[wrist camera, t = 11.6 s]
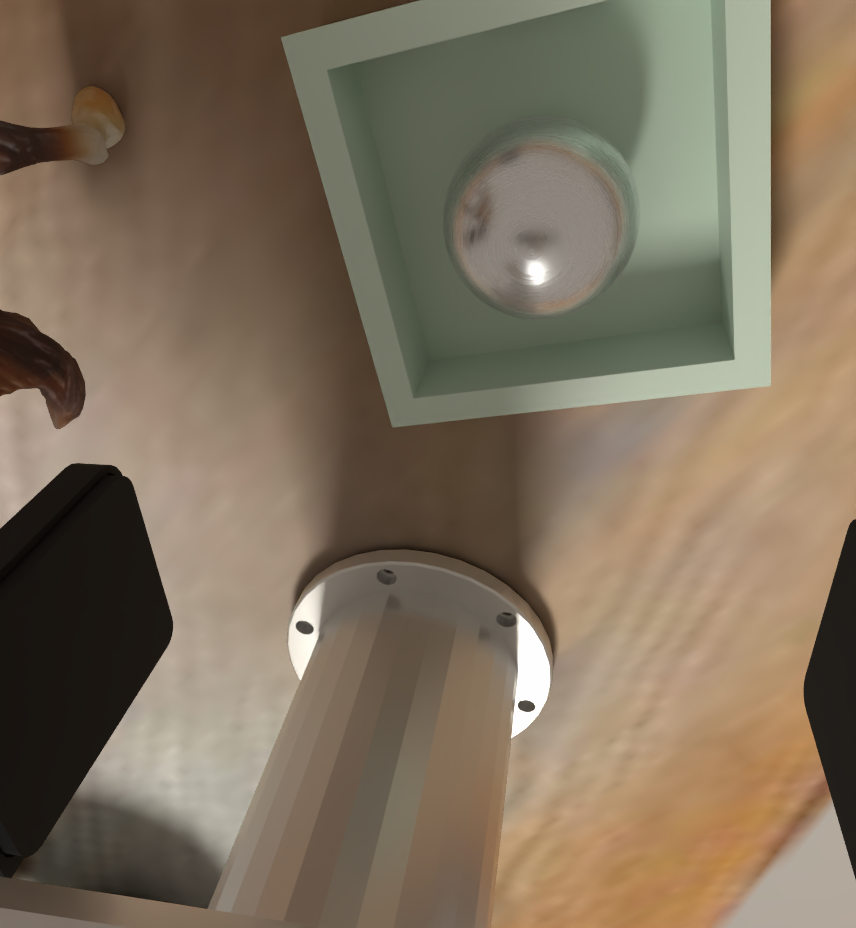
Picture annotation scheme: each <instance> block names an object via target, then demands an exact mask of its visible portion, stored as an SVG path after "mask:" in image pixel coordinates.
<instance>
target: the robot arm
mask: <svg viewBox="0 0 856 928" xmlns="http://www.w3.org/2000/svg"><path fill="white" fill-rule="evenodd" d="M172 632H173V620H172V616H171V612H170V609H169V606H168V602H167V599H166V595H165V592H164V589H163V585H162V582H161V578H160V575H159V572H158V568H157V565H156V561H155V558H154V555H153V551H152V548H151V544H150V541H149V538H148V534H147V531H146V527H145V524H144V521H143V517H142V514H141V510H140V507H139V504H138V500H137V497H136V493H135V490H134V487H133V484H132V482H131V481H130V479H129V478H127V477H125V476H122V473H121V472H120V471H119V469H118V468H117V467H115V466H112V465H98V464H80V463H76V464H71V465H69V466H68V467H66V468H65V469H64V470H63V471H62V472H61V473H59V474H58V475H57V476H56V477H55V478H54V479H53V480H52V481H51V482H50V483H49V484H48V485H47V486H46V487H44V488H43V489H42V490H41V491H40V492H39V493H38V494H37V495H36V496H35V497H34V498H33V499H32V500H31V501H29V502H28V503H27V504H26V505H25V506H24V507H23V508H22V509H21V510H20V511H19V512H18V513H17V514H16V515H15V516H13V517H12V518H11V519H10V520H9V521H8V522H7V523H6V524H5V525H4V526H3V527H2V528H1V529H0V928H491V920H492V911H493V902H494V893H495V883H496V874H497V865H498V856H499V847H500V838H501V829H502V820H503V811H504V802H505V793H506V784H507V774H508V765H509V756H510V747H511V738H512V737H514V736H515V735H517V734H518V733H520V732H521V731H523V730H524V729H526V728H527V727H528V726H529V725H530V724H531V723H532V722H533V721H534V720H535V719H536V718H537V717H538V716H539V715H540V713H541V711H542V710H543V708H544V706H545V704H546V702H547V700H548V698H549V694H550V689H551V685H552V677H553V655H552V650H551V645H550V640H549V637H548V635H547V633H546V631H545V629H544V627H543V625H542V623H541V621H540V619H539V618H538V617H537V615H536V614H535V613H534V611H533V610H532V609H531V607H530V606H529V605H528V604H527V602H526V601H525V600H523V599H522V598H521V597H520V596H519V595H518V594H517V593H516V592H515V591H513V590H512V589H511V588H510V587H509V586H508V585H506V584H505V583H503V582H502V581H500V580H498V579H497V578H495V577H494V576H492V575H491V574H489V573H487V572H486V571H484V570H481V569H479V568H477V567H475V566H472V565H470V564H468V563H466V562H463V561H461V560H458V559H454V558H450V557H447V556H443V555H440V554H436V553H431V552H423V551H415V550H407V549H405V550H378V551H373V552H368V553H363V554H357V555H354V556H352V557H349V558H346V559H344V560H341V561H339V562H336V563H334V564H333V565H331V566H329V567H328V568H326V569H325V570H323V571H322V572H320V573H319V574H317V575H316V576H315V578H314V579H313V580H312V581H311V582H310V583H309V584H308V585H307V586H306V587H305V588H304V590H303V592H302V594H301V596H300V598H299V599H298V601H297V603H296V605H295V607H294V609H293V612H292V614H291V617H290V619H289V623H288V633H287V645H288V650H289V656H290V660H291V662H292V665H293V667H294V669H295V672H296V674H297V676H298V678H299V679H300V684H299V686H298V689H297V691H296V693H295V696H294V698H293V701H292V703H291V706H290V708H289V711H288V713H287V715H286V718H285V720H284V723H283V725H282V728H281V730H280V733H279V735H278V737H277V740H276V742H275V745H274V747H273V750H272V752H271V754H270V757H269V759H268V762H267V764H266V767H265V769H264V772H263V774H262V776H261V779H260V781H259V784H258V786H257V789H256V791H255V794H254V796H253V798H252V801H251V803H250V806H249V808H248V811H247V813H246V816H245V818H244V820H243V823H242V825H241V828H240V830H239V833H238V835H237V838H236V840H235V842H234V845H233V847H232V850H231V852H230V855H229V857H228V860H227V862H226V864H225V867H224V869H223V872H222V874H221V877H220V879H219V882H218V884H217V886H216V889H215V891H214V894H213V896H212V899H211V901H210V904H209V906H208V908H207V909H204V908H198V907H192V906H185V905H179V904H173V903H166V902H160V901H154V900H147V899H141V898H134V897H128V896H121V895H115V894H108V893H102V892H96V891H89V890H83V889H76V888H70V887H63V886H57V885H50V884H44V883H37V882H31V881H25V880H18V879H12V876H13V874H14V873H15V871H16V870H17V868H18V867H19V865H20V864H21V862H22V860H23V859H24V857H28V856H31V855H33V854H34V853H35V852H36V851H37V850H38V849H39V848H40V847H41V845H42V844H43V843H44V841H45V839H46V838H47V836H48V835H49V833H50V832H51V830H52V828H53V827H54V825H55V824H56V822H57V820H58V819H59V817H60V816H61V814H62V813H63V811H64V809H65V808H66V806H67V805H68V803H69V801H70V800H71V798H72V797H73V795H74V794H75V792H76V790H77V789H78V787H79V786H80V784H81V782H82V781H83V779H84V778H85V776H86V775H87V773H88V771H89V770H90V768H91V767H92V765H93V764H94V762H95V760H96V759H97V757H98V756H99V754H100V752H101V751H102V749H103V748H104V746H105V745H106V743H107V741H108V740H109V738H110V737H111V735H112V733H113V732H114V730H115V729H116V727H117V726H118V724H119V722H120V721H121V719H122V718H123V716H124V714H125V713H126V711H127V710H128V708H129V707H130V705H131V703H132V702H133V700H134V699H135V697H136V696H137V694H138V692H139V691H140V689H141V688H142V686H143V684H144V683H145V681H146V680H147V678H148V677H149V675H150V673H151V672H152V670H153V669H154V667H155V665H156V664H157V662H158V661H159V659H160V658H161V656H162V654H163V653H164V651H165V650H166V648H167V646H168V644H169V642H170V640H171V637H172ZM804 702H805V707H806V711H807V715H808V718H809V722H810V725H811V729H812V732H813V735H814V739H815V742H816V746H817V749H818V752H819V756H820V759H821V763H822V766H823V769H824V773H825V776H826V780H827V783H828V786H829V790H830V793H831V797H832V800H833V804H834V807H835V810H836V814H837V817H838V820H839V824H840V827H841V831H842V834H843V838H844V841H845V844H846V848H847V851H848V854H849V858H850V861H851V865H852V868H853V872H854V875H855V878H856V519H855V520H853V521H852V522H851V523H850V525H849V528H848V531H847V534H846V537H845V541H844V544H843V548H842V551H841V555H840V558H839V562H838V565H837V569H836V572H835V576H834V579H833V582H832V586H831V589H830V593H829V596H828V600H827V603H826V607H825V610H824V614H823V617H822V620H821V624H820V627H819V631H818V634H817V638H816V641H815V645H814V648H813V652H812V655H811V659H810V662H809V665H808V669H807V672H806V676H805V681H804Z"/></svg>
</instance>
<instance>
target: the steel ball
mask: <svg viewBox="0 0 856 928" xmlns="http://www.w3.org/2000/svg"><path fill="white" fill-rule="evenodd" d="M639 222H640V202H639V195H638V190H637V186H636V183H635V180H634V177H633V175H632V172H631V170H630V168H629V166H628V164H627V162H626V161H625V159H624V157H623V156H622V154H621V153H620V151H619V150H618V149H617V148H616V147H615V146H614V145H613V143H612V142H611V141H609V140H608V139H607V138H606V137H605V136H604V135H603V134H601V133H600V132H598V131H597V130H595V129H594V128H592V127H590V126H588V125H586V124H584V123H582V122H580V121H577V120H573V119H570V118H566V117H560V116H553V115H538V116H531V117H525V118H521V119H518V120H514V121H512V122H509V123H507V124H505V125H502V126H500V127H499V128H497V129H495V130H494V131H492V132H491V133H489V134H488V135H486V136H485V137H484V138H483V139H481V140H480V141H479V142H478V143H477V144H476V145H475V146H474V147H473V148H472V149H471V150H470V151H469V152H468V153H467V155H466V156H465V157H464V159H463V160H462V161H461V163H460V164H459V166H458V168H457V170H456V172H455V174H454V175H453V178H452V180H451V183H450V186H449V188H448V191H447V195H446V199H445V203H444V212H443V232H444V239H445V245H446V249H447V252H448V256H449V258H450V261H451V263H452V265H453V268H454V269H455V271H456V273H457V274H458V276H459V278H460V279H461V280H462V282H463V283H464V284H465V286H466V287H467V288H468V289H469V290H470V291H471V292H472V293H473V294H474V295H475V296H476V297H477V298H478V299H479V300H481V301H482V302H483V303H484V304H486V305H488V306H489V307H491V308H493V309H494V310H497V311H499V312H501V313H503V314H506V315H509V316H513V317H516V318H522V319H529V320H545V319H553V318H558V317H562V316H565V315H568V314H571V313H574V312H576V311H578V310H580V309H583V308H585V307H586V306H588V305H590V304H591V303H593V302H594V301H596V300H597V299H598V298H600V297H601V296H602V295H603V294H604V293H606V292H607V291H608V290H609V288H610V287H611V286H612V285H613V284H614V283H615V282H616V280H617V279H618V278H619V276H620V275H621V274H622V272H623V271H624V269H625V267H626V265H627V264H628V262H629V260H630V258H631V255H632V253H633V250H634V248H635V244H636V240H637V236H638V231H639Z"/></svg>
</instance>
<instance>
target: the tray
mask: <svg viewBox="0 0 856 928" xmlns="http://www.w3.org/2000/svg"><path fill="white" fill-rule="evenodd" d="M281 40H282V44H283V47H284V51H285V54H286V58H287V61H288V65H289V68H290V72H291V75H292V79H293V82H294V86H295V89H296V93H297V96H298V100H299V103H300V107H301V110H302V114H303V117H304V121H305V124H306V128H307V131H308V135H309V138H310V142H311V145H312V149H313V152H314V155H315V159H316V162H317V166H318V169H319V173H320V176H321V180H322V183H323V187H324V190H325V194H326V197H327V201H328V204H329V208H330V211H331V215H332V218H333V222H334V225H335V229H336V232H337V236H338V239H339V243H340V246H341V250H342V253H343V257H344V260H345V264H346V267H347V271H348V274H349V278H350V281H351V285H352V288H353V292H354V295H355V299H356V302H357V306H358V309H359V313H360V316H361V320H362V323H363V327H364V330H365V334H366V337H367V341H368V344H369V348H370V351H371V355H372V358H373V362H374V365H375V369H376V372H377V376H378V379H379V383H380V386H381V390H382V393H383V397H384V400H385V404H386V407H387V411H388V414H389V418H390V421H391V425H392V428H394V427H403V426H412V425H421V424H430V423H439V422H448V421H457V420H466V419H475V418H484V417H493V416H502V415H511V414H520V413H529V412H538V411H547V410H556V409H565V408H574V407H583V406H592V405H601V404H611V403H620V402H629V401H638V400H647V399H656V398H665V397H674V396H683V395H692V394H701V393H710V392H719V391H728V390H737V389H746V388H755V387H764V386H771V0H418V1H414V2H410V3H406V4H403V5H399V6H395V7H391V8H388V9H384V10H380V11H376V12H372V13H369V14H365V15H361V16H357V17H354V18H350V19H346V20H342V21H339V22H335V23H331V24H327V25H323V26H320V27H316V28H313V29H309V30H305V31H302V32H298V33H295V34H291V35H287V36H284V37H281ZM538 115H553V116H560V117H566V118H570V119H573V120H577V121H580V122H582V123H584V124H586V125H588V126H590V127H592V128H594V129H595V130H597V131H598V132H600V133H601V134H603V135H604V136H605V137H606V138H607V139H608V140H609V141H611V142H612V143H613V145H614V146H615V147H616V148H617V149H618V150H619V151H620V153H621V154H622V156H623V157H624V159H625V161H626V162H627V164H628V166H629V168H630V170H631V172H632V175H633V177H634V180H635V183H636V186H637V190H638V195H639V202H640V222H639V231H638V236H637V240H636V244H635V248H634V250H633V253H632V255H631V258H630V260H629V262H628V264H627V265H626V267H625V269H624V271H623V272H622V274H621V275H620V276H619V278H618V279H617V280H616V282H615V283H614V284H613V285H612V286H611V287H610V288H609V290H608V291H607V292H606V293H604V294H603V295H602V296H601V297H600V298H598V299H597V300H596V301H594V302H593V303H591V304H590V305H588V306H586V307H585V308H583V309H580V310H578V311H576V312H574V313H571V314H568V315H565V316H562V317H558V318H553V319H545V320H529V319H522V318H516V317H513V316H509V315H506V314H503V313H501V312H499V311H497V310H494V309H493V308H491V307H489V306H488V305H486V304H484V303H483V302H482V301H481V300H479V299H478V298H477V297H476V296H475V295H474V294H473V293H472V292H471V291H470V290H469V289H468V288H467V287H466V286H465V284H464V283H463V282H462V280H461V279H460V278H459V276H458V274H457V273H456V271H455V269H454V268H453V265H452V263H451V261H450V258H449V256H448V252H447V249H446V245H445V239H444V232H443V212H444V203H445V199H446V195H447V191H448V188H449V186H450V183H451V180H452V178H453V175H454V174H455V172H456V170H457V168H458V166H459V164H460V163H461V161H462V160H463V159H464V157H465V156H466V155H467V153H468V152H469V151H470V150H471V149H472V148H473V147H474V146H475V145H476V144H477V143H478V142H479V141H480V140H481V139H483V138H484V137H485V136H486V135H488V134H489V133H491V132H492V131H494V130H495V129H497V128H499V127H500V126H502V125H505V124H507V123H509V122H512V121H514V120H518V119H521V118H525V117H531V116H538Z"/></svg>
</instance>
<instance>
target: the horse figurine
mask: <svg viewBox="0 0 856 928" xmlns="http://www.w3.org/2000/svg"><path fill="white" fill-rule="evenodd" d="M71 119H72V122H73V124H72V125H69V126H62V127H54V128H30V127H25V126H20V125H15V124H11V123H7V122H4V121H0V175H3V174H6V173H9V172H12V171H15V170H18V169H20V168H23V167H26V166H30V165H33V164H36V163H40V162H49V161H60V160H76V161H80V162H83V163H86V164H88V165H98V164H100V163H103V162H104V161H105V160H106V159H107V157H108V156H109V154H108V150H107V149H108V148H110V147H112V146H113V145H115V144H116V143H117V142H119V141H120V140H121V139H122V137H123V134H124V131H125V123H124V120H123V118H122V115H121V113H120V111H119V108H118V106H117V105H116V103H115V101H114V99H113V98H112V97H111V96H110V95H109V94H108V93H106V92H105V91H103V90H102V89H100V88H97V87H94V86H88V87H85V88H83V89H81V90H80V91H79V93H78V94H77V95H76V96H75V100H74V104H73V110H72V116H71ZM30 388H38V389H40V391H41V394H42V395H43V396H44V397H45V399H46V404H47V407H48V410H49V413H50V416H51V419H52V422H53V425H54V426H55V428H56V429H61V428H63V427H64V426H66V425H67V424H68V423H69V422H70V421H72V420H73V419H75V418H77V417H78V416H79V415H80V413H81V411H82V409H83V405H84V401H85V396H86V395H85V381H84V379H83V376H82V373H81V371H80V368H79V366H78V364H77V362H76V359H74V358H73V357H72V356H71V355H70V354H69V352H67V351H65V350H64V348H63V347H62V346H61V345H60V344H59V343H57V342H56V341H55V340H53V339H52V338H50V337H49V336H47V335H45V334H43V333H41V332H40V331H39V330H38V328H37V327H36V326H35V325H34V324H33V322H32V321H31V320H30V319H29V318H27V317H24V316H22V315H20V314H17V313H10V312H5V311H2V310H0V396H2V395H4V394H11V393H12V392H14V391H16V390H18V389H30Z"/></svg>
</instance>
